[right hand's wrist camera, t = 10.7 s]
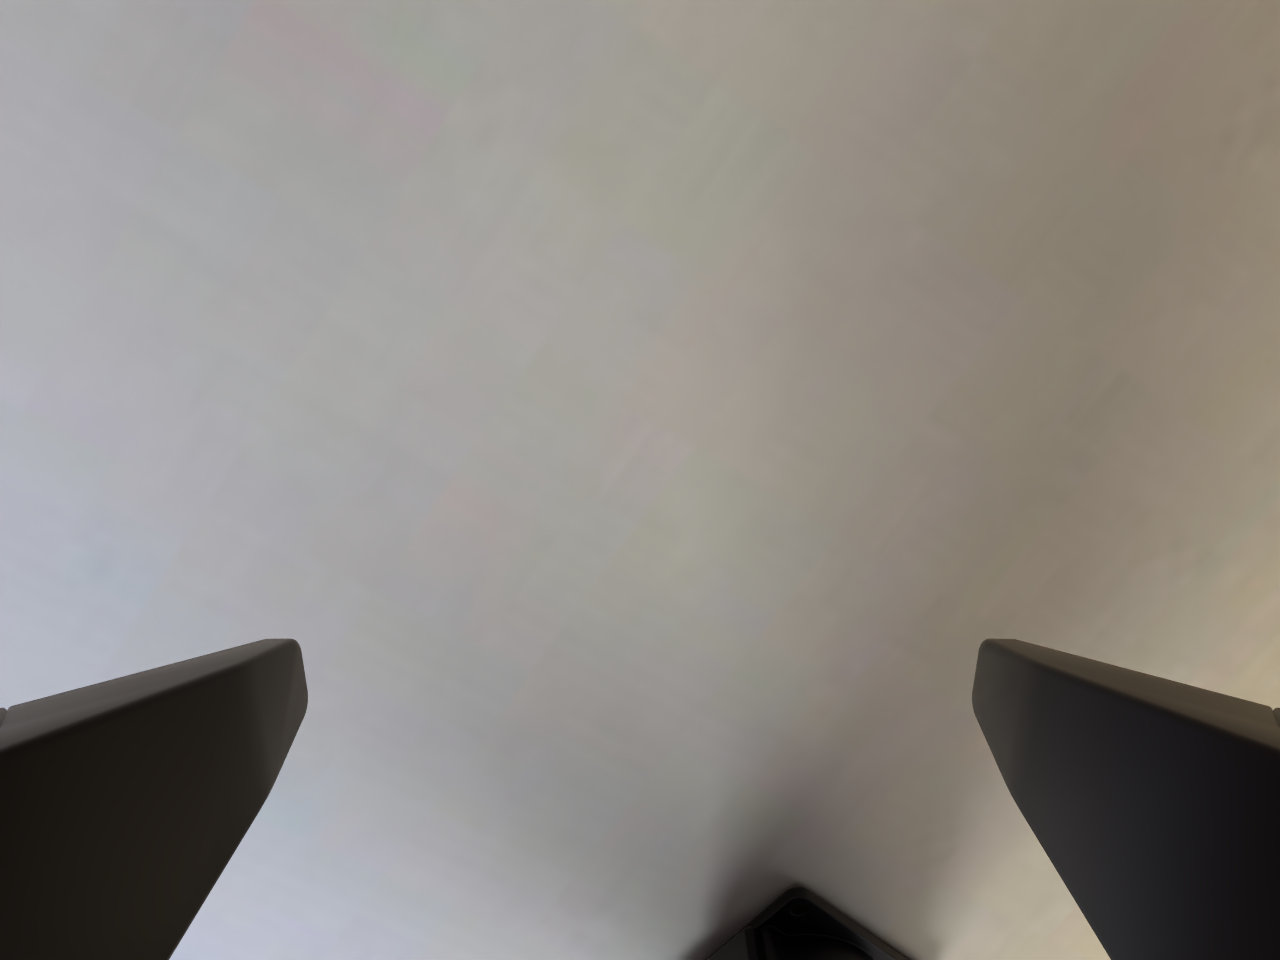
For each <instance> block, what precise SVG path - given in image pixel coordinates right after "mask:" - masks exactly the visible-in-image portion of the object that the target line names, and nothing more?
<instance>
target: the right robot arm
mask: <svg viewBox="0 0 1280 960" xmlns="http://www.w3.org/2000/svg"><path fill="white" fill-rule="evenodd" d="M307 703H308V692H307V685H306V678H305V672H304V665H303V659H302V652H301V648H300V646H299V644H298V642H297V641H296V640H294V639H264V640H260V641H257V642H253V643H249V644H245V645H241V646H238V647H234V648H230V649H226V650H222V651H219V652H215V653H211V654H207V655H204V656H200V657H196V658H192V659H188V660H185V661H181V662H177V663H173V664H169V665H166V666H162V667H158V668H154V669H151V670H147V671H143V672H139V673H135V674H132V675H128V676H124V677H120V678H116V679H113V680H109V681H105V682H101V683H98V684H94V685H90V686H86V687H82V688H79V689H75V690H71V691H67V692H63V693H60V694H56V695H52V696H48V697H45V698H41V699H37V700H33V701H29V702H26V703H22V704H18V705H14V706H11V707H9V708H8V710H6V709H5V708H0V960H169V959H170V957H171V955H172V954H173V952H174V951H175V949H176V947H177V946H178V944H179V942H180V941H181V939H182V937H183V936H184V934H185V932H186V931H187V929H188V927H189V926H190V924H191V923H192V921H193V919H194V918H195V916H196V914H197V913H198V911H199V909H200V908H201V906H202V904H203V903H204V901H205V900H206V898H207V896H208V895H209V893H210V891H211V890H212V888H213V886H214V885H215V883H216V881H217V880H218V878H219V877H220V875H221V873H222V872H223V870H224V868H225V867H226V865H227V863H228V862H229V860H230V858H231V857H232V855H233V854H234V852H235V850H236V849H237V847H238V845H239V844H240V842H241V840H242V839H243V837H244V835H245V834H246V832H247V831H248V829H249V827H250V826H251V824H252V822H253V821H254V819H255V817H256V816H257V814H258V812H259V811H260V809H261V807H262V806H263V804H264V802H265V800H266V799H267V797H268V795H269V793H270V791H271V789H272V787H273V785H274V783H275V781H276V779H277V776H278V774H279V772H280V770H281V767H282V765H283V763H284V761H285V758H286V756H287V754H288V752H289V749H290V747H291V745H292V743H293V740H294V738H295V736H296V734H297V731H298V729H299V727H300V725H301V722H302V720H303V718H304V716H305V713H306V709H307ZM972 703H973V709H974V713H975V716H976V718H977V720H978V722H979V725H980V727H981V729H982V731H983V734H984V736H985V738H986V740H987V743H988V745H989V747H990V749H991V752H992V754H993V756H994V758H995V761H996V763H997V765H998V767H999V770H1000V772H1001V774H1002V776H1003V779H1004V781H1005V783H1006V785H1007V787H1008V789H1009V791H1010V793H1011V795H1012V797H1013V799H1014V800H1015V802H1016V804H1017V806H1018V807H1019V809H1020V811H1021V812H1022V814H1023V816H1024V817H1025V819H1026V821H1027V822H1028V824H1029V826H1030V827H1031V829H1032V831H1033V832H1034V834H1035V835H1036V837H1037V839H1038V840H1039V842H1040V844H1041V845H1042V847H1043V849H1044V850H1045V852H1046V854H1047V855H1048V857H1049V858H1050V860H1051V862H1052V863H1053V865H1054V867H1055V868H1056V870H1057V872H1058V873H1059V875H1060V877H1061V878H1062V880H1063V881H1064V883H1065V885H1066V886H1067V888H1068V890H1069V891H1070V893H1071V895H1072V896H1073V898H1074V900H1075V901H1076V903H1077V904H1078V906H1079V908H1080V909H1081V911H1082V913H1083V914H1084V916H1085V918H1086V919H1087V921H1088V923H1089V924H1090V926H1091V927H1092V929H1093V931H1094V932H1095V934H1096V936H1097V937H1098V939H1099V941H1100V942H1101V944H1102V946H1103V947H1104V949H1105V950H1106V952H1107V954H1108V955H1109V957H1110V959H1111V960H1280V708H1275V709H1274V710H1272V708H1271V707H1269V706H1266V705H1262V704H1258V703H1254V702H1251V701H1247V700H1243V699H1239V698H1236V697H1232V696H1228V695H1224V694H1220V693H1217V692H1213V691H1209V690H1205V689H1201V688H1198V687H1194V686H1190V685H1186V684H1183V683H1179V682H1175V681H1171V680H1167V679H1164V678H1160V677H1156V676H1152V675H1148V674H1145V673H1141V672H1137V671H1133V670H1129V669H1126V668H1122V667H1118V666H1114V665H1111V664H1107V663H1103V662H1099V661H1095V660H1092V659H1088V658H1084V657H1080V656H1076V655H1073V654H1069V653H1065V652H1061V651H1058V650H1054V649H1050V648H1046V647H1042V646H1039V645H1035V644H1031V643H1027V642H1023V641H1020V640H1016V639H986V640H984V641H983V642H982V644H981V646H980V648H979V652H978V659H977V665H976V672H975V678H974V685H973V692H972ZM799 903H801V905H797V906H795V904H799ZM707 960H907V959H906V958H905V957H903V956H902V955H900V954H899V953H897V952H896V951H895V950H893V949H892V948H890V947H889V946H887V945H886V944H884V943H883V942H882V941H880V940H879V939H877V938H876V937H874V936H873V935H871V934H870V933H869V932H867V931H866V930H864V929H863V928H861V927H860V926H858V925H857V924H856V923H854V922H853V921H851V920H850V919H848V918H847V917H845V916H844V915H843V914H841V913H840V912H838V911H837V910H835V909H834V908H832V907H831V906H830V905H828V904H827V903H825V902H824V901H822V900H821V899H820V898H818V897H817V896H815V895H814V894H812V893H811V892H809V891H808V890H806V889H804V888H792V889H790V890H788V891H786V892H785V893H784V894H782V895H781V896H780V897H779V898H778V899H777V900H776V901H774V902H773V903H772V904H771V905H770V906H769V907H767V908H766V909H765V910H764V911H763V912H762V913H760V914H759V915H758V916H757V917H756V918H755V919H753V920H752V921H751V922H750V923H749V924H748V925H746V926H745V927H744V928H743V929H742V930H741V931H739V932H738V933H737V934H736V935H735V936H734V937H732V938H731V939H730V940H729V941H728V942H727V943H725V944H724V945H723V946H722V947H721V948H720V949H719V950H717V951H716V952H715V953H714V954H713V955H712V956H710V957H709V958H708V959H707Z"/></svg>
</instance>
